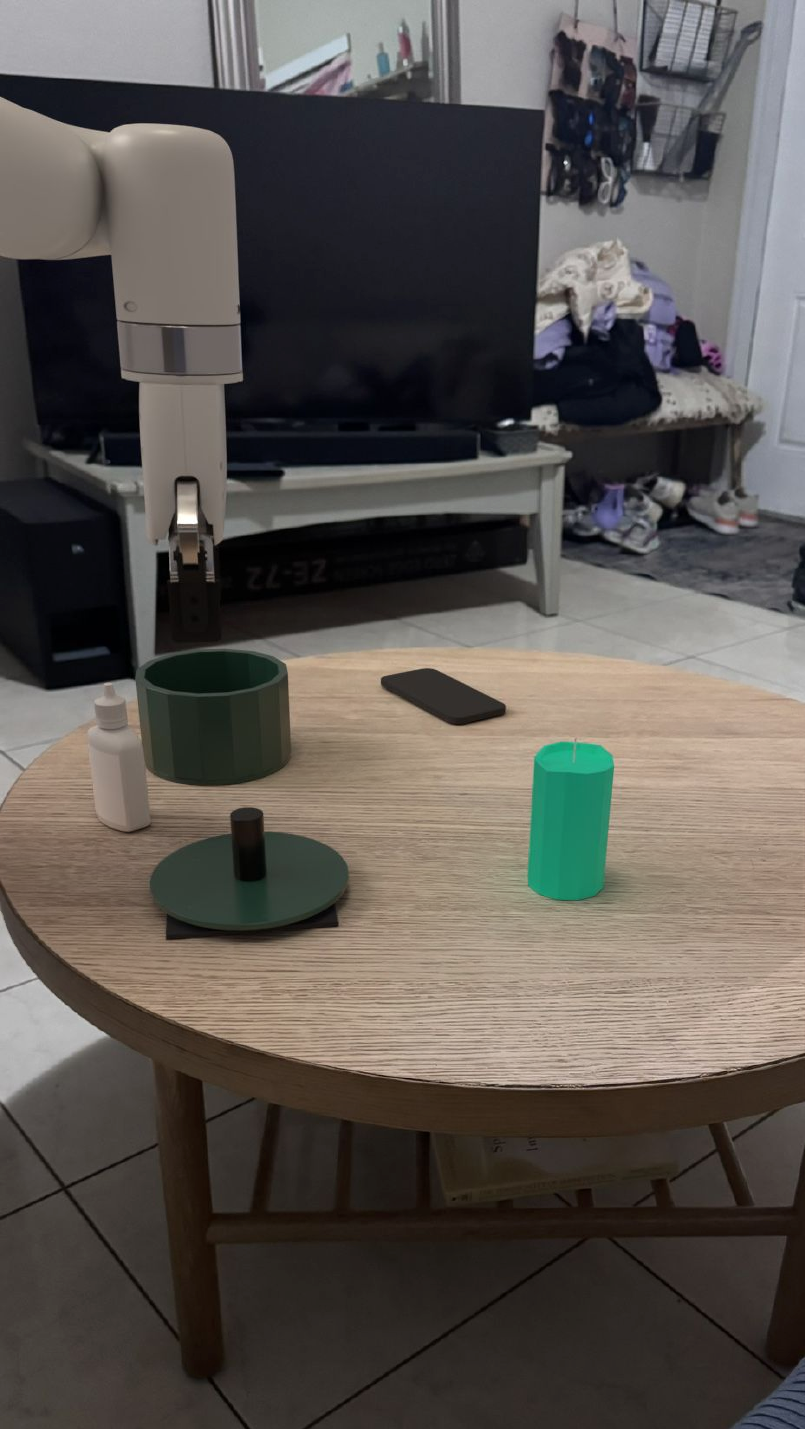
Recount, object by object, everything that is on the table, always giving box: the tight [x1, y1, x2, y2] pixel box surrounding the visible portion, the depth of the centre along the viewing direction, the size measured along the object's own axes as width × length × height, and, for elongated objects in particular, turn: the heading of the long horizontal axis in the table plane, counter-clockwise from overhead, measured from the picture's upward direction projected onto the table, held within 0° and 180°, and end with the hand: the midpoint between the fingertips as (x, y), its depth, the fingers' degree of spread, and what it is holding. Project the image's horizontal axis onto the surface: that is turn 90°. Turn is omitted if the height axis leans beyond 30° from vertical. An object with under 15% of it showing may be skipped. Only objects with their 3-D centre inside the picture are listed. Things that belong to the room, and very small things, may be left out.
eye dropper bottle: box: [86, 682, 152, 833], centre depth 95 cm, size 4×6×12 cm
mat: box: [165, 902, 339, 941], centre depth 87 cm, size 12×12×1 cm
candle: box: [526, 736, 615, 901], centre depth 88 cm, size 6×6×12 cm
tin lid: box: [149, 806, 350, 930], centre depth 86 cm, size 15×15×6 cm
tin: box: [134, 648, 292, 786], centre depth 109 cm, size 14×14×8 cm
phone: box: [380, 667, 507, 725], centre depth 126 cm, size 7×1×15 cm
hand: (198, 619), depth 81 cm, fingers open, 9 cm apart
